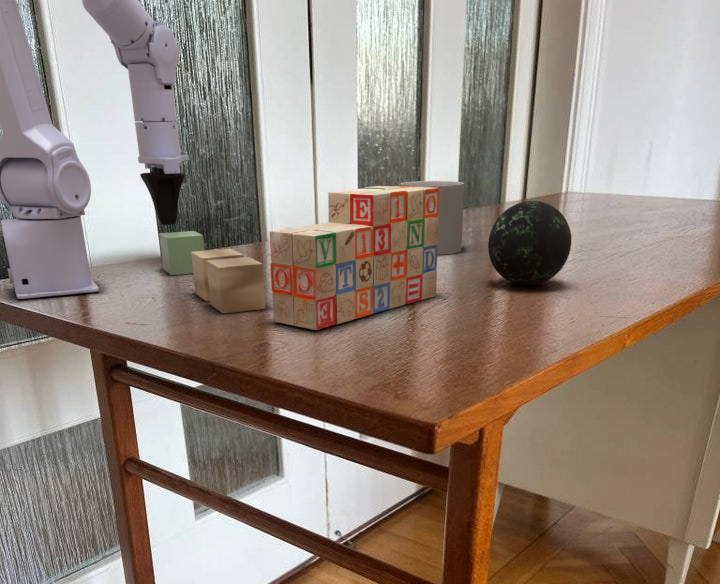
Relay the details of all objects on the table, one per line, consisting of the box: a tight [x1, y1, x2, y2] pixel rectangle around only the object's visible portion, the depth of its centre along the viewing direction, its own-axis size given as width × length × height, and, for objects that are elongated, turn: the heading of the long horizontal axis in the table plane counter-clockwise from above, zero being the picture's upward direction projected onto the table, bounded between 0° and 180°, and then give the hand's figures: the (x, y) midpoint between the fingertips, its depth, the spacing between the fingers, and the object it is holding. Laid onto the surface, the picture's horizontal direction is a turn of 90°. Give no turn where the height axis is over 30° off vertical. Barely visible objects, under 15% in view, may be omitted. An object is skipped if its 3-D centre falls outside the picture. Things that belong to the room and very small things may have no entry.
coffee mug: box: [399, 180, 465, 256], centre depth 120 cm, size 13×10×10 cm
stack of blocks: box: [269, 185, 439, 331], centre depth 82 cm, size 21×6×12 cm, turn 141°
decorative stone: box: [487, 200, 572, 287], centre depth 93 cm, size 10×10×10 cm
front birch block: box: [206, 256, 266, 315], centre depth 85 cm, size 5×5×5 cm
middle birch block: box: [191, 248, 245, 302], centre depth 90 cm, size 5×5×5 cm
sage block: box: [158, 230, 206, 276], centre depth 106 cm, size 5×5×5 cm
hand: (168, 224), depth 111 cm, fingers closed
